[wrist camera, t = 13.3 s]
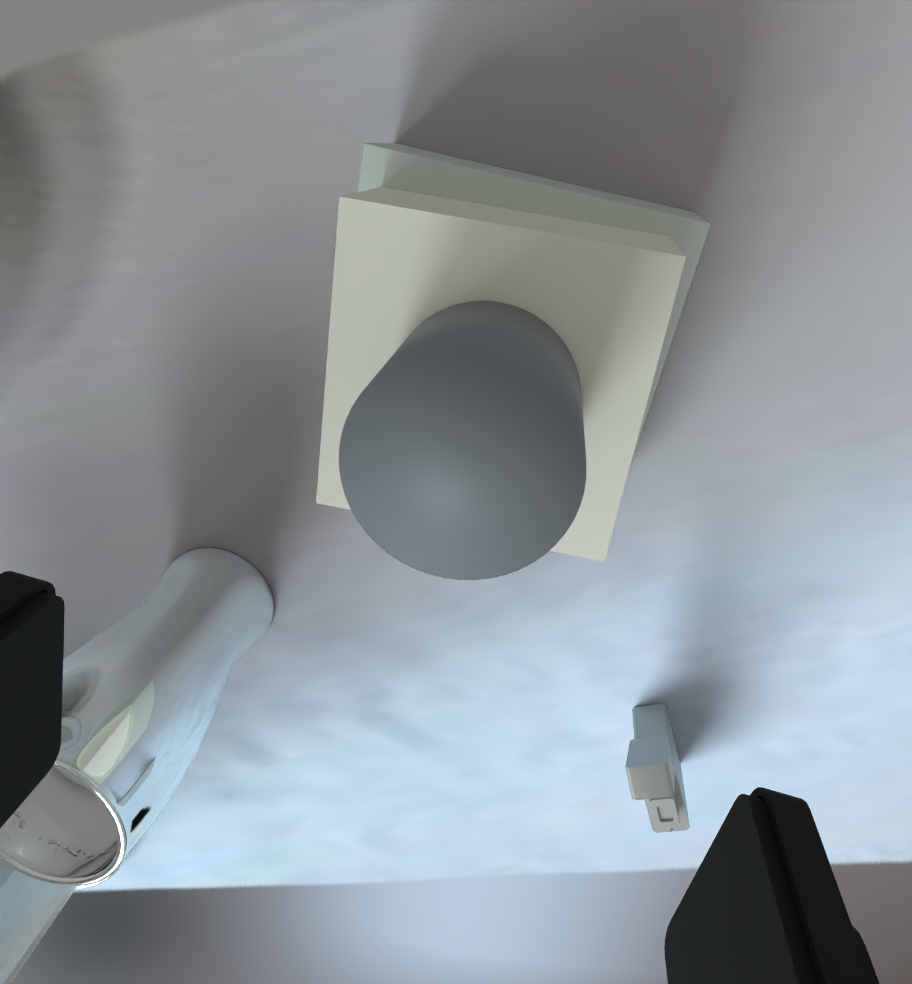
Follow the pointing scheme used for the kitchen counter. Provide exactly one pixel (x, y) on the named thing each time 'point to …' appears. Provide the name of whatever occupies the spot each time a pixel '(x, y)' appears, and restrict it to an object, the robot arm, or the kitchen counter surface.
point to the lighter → (657, 769)
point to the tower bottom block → (538, 206)
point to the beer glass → (136, 718)
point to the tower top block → (512, 280)
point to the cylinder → (468, 444)
